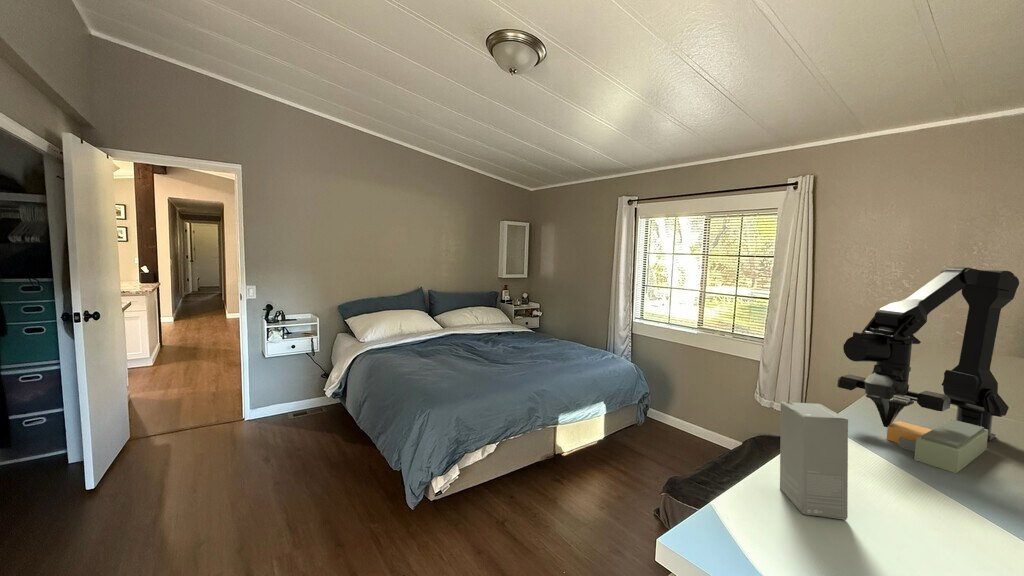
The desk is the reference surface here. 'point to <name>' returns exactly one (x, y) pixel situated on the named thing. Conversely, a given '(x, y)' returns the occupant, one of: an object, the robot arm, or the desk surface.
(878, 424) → the desk surface
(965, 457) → the sage green lidded box
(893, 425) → the amber cuboid
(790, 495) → the skincare box
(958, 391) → the robot arm
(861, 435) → the desk surface
